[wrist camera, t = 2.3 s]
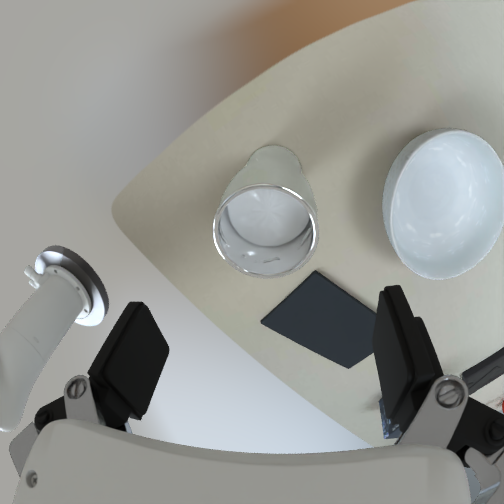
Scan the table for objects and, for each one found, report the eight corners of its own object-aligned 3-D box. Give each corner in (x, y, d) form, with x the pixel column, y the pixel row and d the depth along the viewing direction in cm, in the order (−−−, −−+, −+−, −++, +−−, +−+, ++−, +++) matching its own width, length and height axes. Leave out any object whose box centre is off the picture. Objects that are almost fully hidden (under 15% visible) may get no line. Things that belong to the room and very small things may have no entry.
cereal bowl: (490, 209, 28) (518, 233, 22) (403, 270, 34) (420, 303, 28) (449, 98, 22) (484, 103, 16) (342, 167, 28) (358, 187, 22)
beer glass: (310, 146, 28) (335, 192, 15) (299, 205, 31) (308, 288, 19) (246, 136, 28) (212, 172, 15) (239, 195, 32) (206, 272, 19)
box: (394, 383, 49) (403, 425, 40) (414, 383, 49) (424, 422, 40) (377, 401, 53) (383, 439, 44) (396, 400, 53) (403, 437, 44)
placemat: (260, 320, 41) (260, 323, 41) (315, 269, 36) (315, 272, 35) (348, 366, 46) (348, 369, 45) (399, 330, 40) (400, 332, 40)
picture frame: (461, 392, 52) (511, 361, 45) (463, 398, 50) (514, 367, 43) (462, 372, 47) (517, 337, 40) (464, 379, 45) (520, 344, 38)
